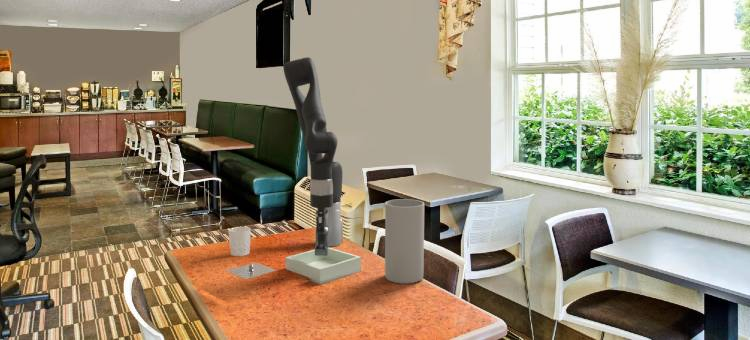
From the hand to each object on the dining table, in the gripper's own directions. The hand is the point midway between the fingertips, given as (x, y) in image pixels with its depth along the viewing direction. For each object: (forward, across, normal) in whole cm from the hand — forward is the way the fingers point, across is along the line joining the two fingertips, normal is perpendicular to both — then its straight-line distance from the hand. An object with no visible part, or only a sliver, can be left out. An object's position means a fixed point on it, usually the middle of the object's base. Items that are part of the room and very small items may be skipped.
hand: (322, 242), depth 181 cm
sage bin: (+10, 0, 0) cm, 10 cm away
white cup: (+11, -18, -32) cm, 38 cm away
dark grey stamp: (+4, 0, 0) cm, 4 cm away
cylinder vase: (+10, +7, +27) cm, 30 cm away
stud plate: (+10, +2, -24) cm, 26 cm away
